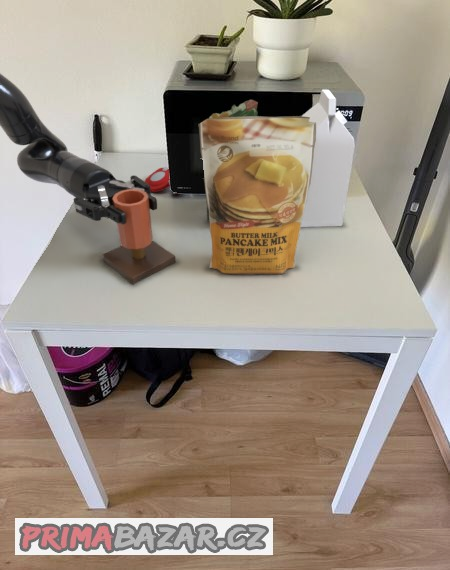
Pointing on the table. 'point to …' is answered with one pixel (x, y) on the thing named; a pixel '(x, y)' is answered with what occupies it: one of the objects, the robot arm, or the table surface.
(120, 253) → the ring stand
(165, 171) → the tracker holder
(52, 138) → the robot arm
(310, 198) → the milk
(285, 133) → the pancake mix bag
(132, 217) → the faceted terracotta cup
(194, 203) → the table surface
